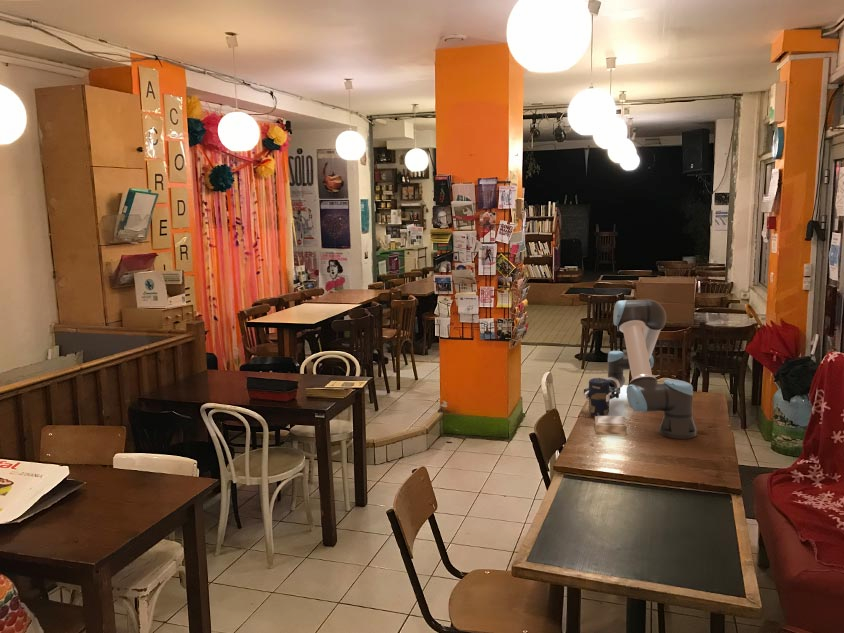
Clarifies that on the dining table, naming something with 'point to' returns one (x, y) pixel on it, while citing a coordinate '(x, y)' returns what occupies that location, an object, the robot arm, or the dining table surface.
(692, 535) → the dining table surface
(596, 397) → the canister
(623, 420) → the stand
